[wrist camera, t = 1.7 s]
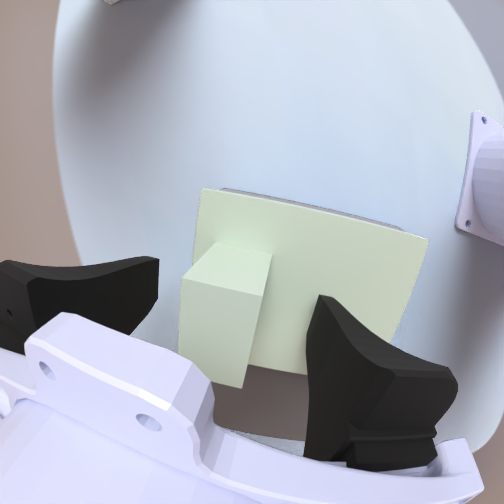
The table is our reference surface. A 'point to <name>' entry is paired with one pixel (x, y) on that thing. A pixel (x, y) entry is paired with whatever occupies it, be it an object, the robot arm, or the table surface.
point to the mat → (264, 404)
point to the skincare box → (111, 1)
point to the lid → (284, 281)
